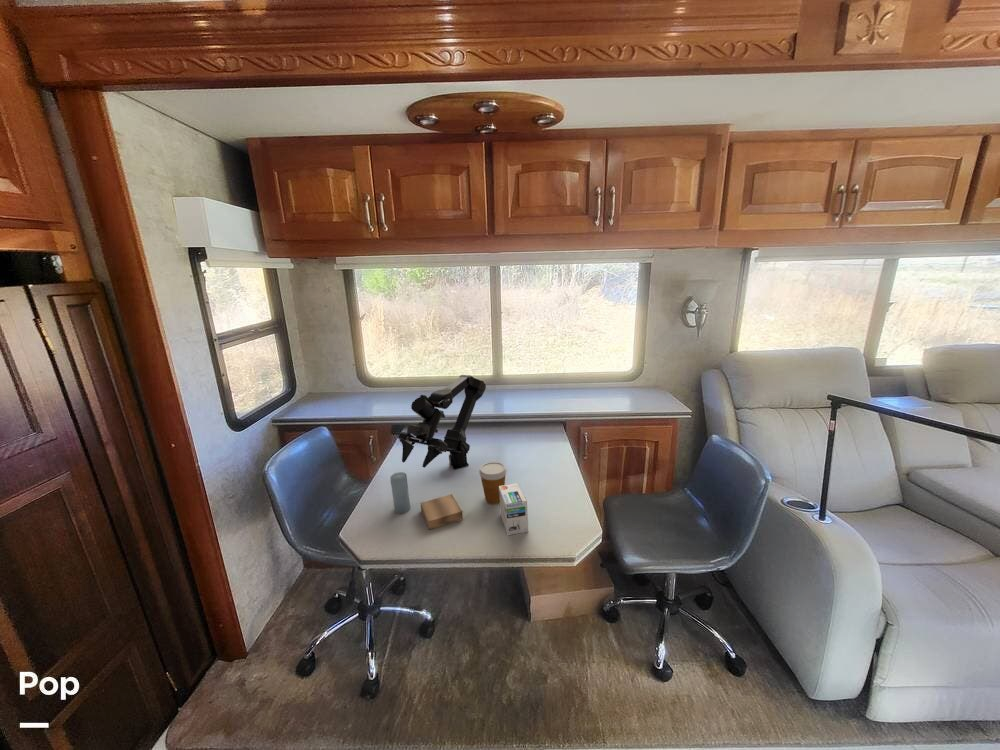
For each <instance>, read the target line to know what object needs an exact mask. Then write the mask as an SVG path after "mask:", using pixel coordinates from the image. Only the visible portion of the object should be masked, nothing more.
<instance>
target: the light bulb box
mask: <svg viewBox="0 0 1000 750" xmlns="http://www.w3.org/2000/svg"><path fill="white" fill-rule="evenodd" d="M499 495H500V503H499V506H500V507H499V509H500V518H501V520H502V523H503V526H504V529H505V531H506V534H507V536H511V535H516V534H521V533H528V532H529V519H528V515H529V514H528V500H527V497H526V496H525V494H524V493H523V491H522V489H521V487H520V484H519V483H518V482H517V483H511V484H505V485H503V486H499Z"/></svg>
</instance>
